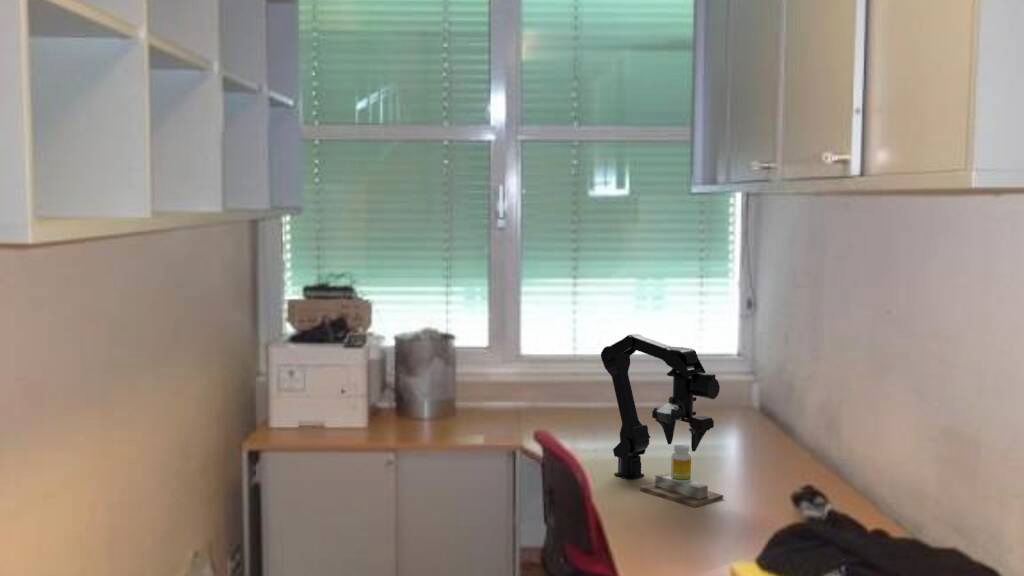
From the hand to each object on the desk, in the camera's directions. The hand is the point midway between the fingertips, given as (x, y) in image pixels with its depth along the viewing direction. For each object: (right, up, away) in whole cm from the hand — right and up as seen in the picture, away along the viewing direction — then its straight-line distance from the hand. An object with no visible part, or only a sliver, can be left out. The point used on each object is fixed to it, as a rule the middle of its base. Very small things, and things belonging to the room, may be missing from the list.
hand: (681, 447), depth 283 cm
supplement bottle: (-1, -9, -4) cm, 10 cm away
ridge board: (-1, -12, -4) cm, 13 cm away
